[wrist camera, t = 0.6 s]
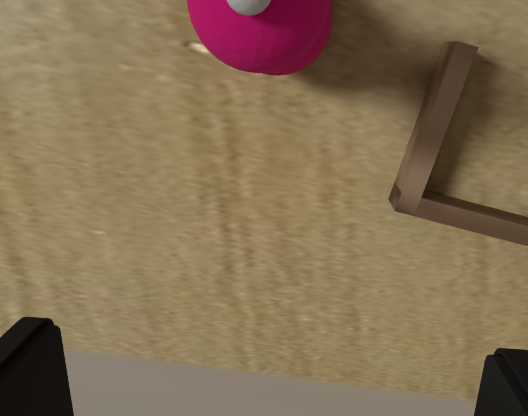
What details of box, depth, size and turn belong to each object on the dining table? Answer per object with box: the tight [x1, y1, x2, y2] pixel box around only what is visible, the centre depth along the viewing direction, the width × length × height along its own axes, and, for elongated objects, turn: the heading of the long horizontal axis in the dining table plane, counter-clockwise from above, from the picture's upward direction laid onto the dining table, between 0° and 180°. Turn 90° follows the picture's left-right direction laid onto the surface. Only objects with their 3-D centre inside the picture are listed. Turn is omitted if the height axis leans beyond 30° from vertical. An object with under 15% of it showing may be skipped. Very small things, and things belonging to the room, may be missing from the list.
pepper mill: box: [187, 0, 333, 75], centre depth 25 cm, size 7×7×20 cm
